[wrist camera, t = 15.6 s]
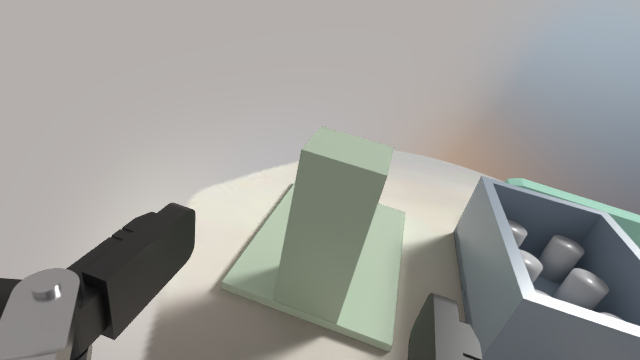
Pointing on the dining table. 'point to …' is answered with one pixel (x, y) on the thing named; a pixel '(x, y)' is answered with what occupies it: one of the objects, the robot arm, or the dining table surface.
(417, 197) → the dining table surface
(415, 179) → the dining table surface
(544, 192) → the mint green bar
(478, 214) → the tub
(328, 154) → the lid
